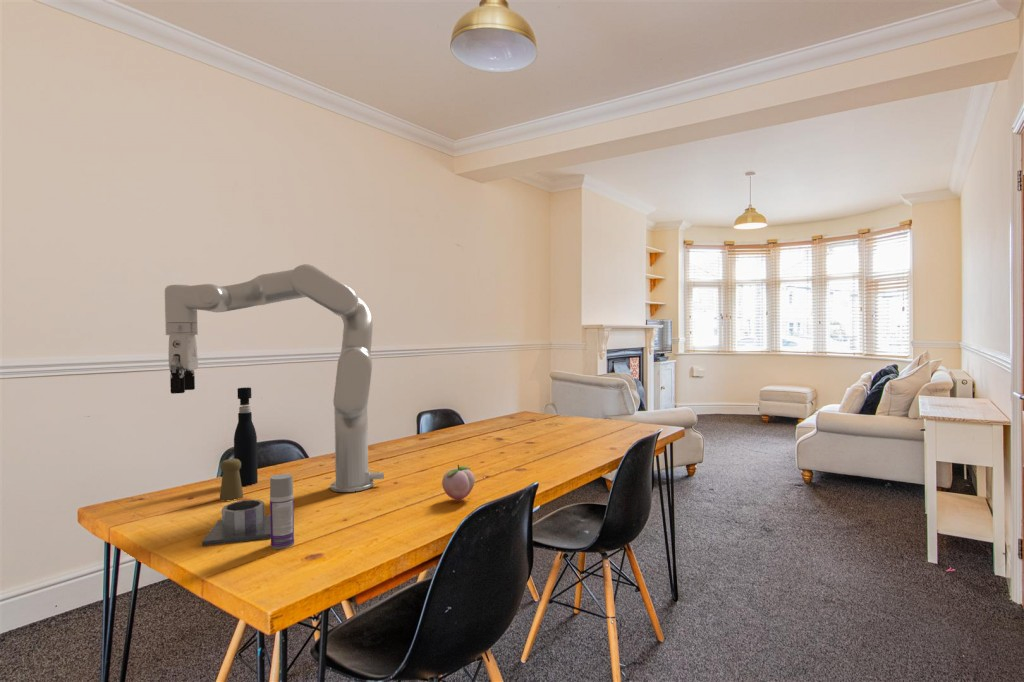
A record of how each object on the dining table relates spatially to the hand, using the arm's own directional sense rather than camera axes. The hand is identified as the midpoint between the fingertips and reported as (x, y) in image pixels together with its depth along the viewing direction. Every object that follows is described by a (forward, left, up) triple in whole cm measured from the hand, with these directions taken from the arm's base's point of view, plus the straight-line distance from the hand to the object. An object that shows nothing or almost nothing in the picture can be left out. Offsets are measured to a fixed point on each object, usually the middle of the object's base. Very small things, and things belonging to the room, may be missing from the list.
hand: (183, 391), depth 146 cm
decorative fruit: (-72, +23, -31) cm, 82 cm away
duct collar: (-20, +29, -31) cm, 47 cm away
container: (-30, +41, -31) cm, 60 cm away
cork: (-11, -1, -31) cm, 33 cm away
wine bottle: (-12, -16, -31) cm, 37 cm away
